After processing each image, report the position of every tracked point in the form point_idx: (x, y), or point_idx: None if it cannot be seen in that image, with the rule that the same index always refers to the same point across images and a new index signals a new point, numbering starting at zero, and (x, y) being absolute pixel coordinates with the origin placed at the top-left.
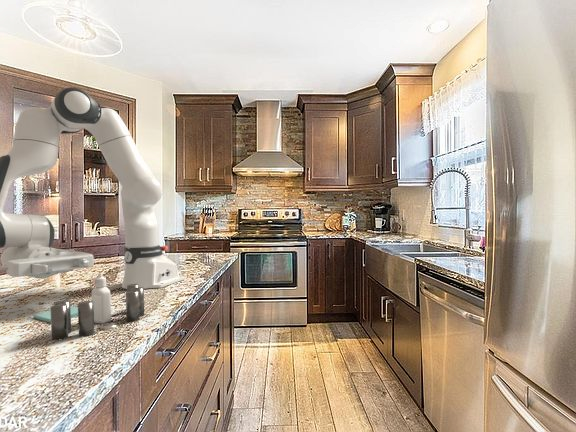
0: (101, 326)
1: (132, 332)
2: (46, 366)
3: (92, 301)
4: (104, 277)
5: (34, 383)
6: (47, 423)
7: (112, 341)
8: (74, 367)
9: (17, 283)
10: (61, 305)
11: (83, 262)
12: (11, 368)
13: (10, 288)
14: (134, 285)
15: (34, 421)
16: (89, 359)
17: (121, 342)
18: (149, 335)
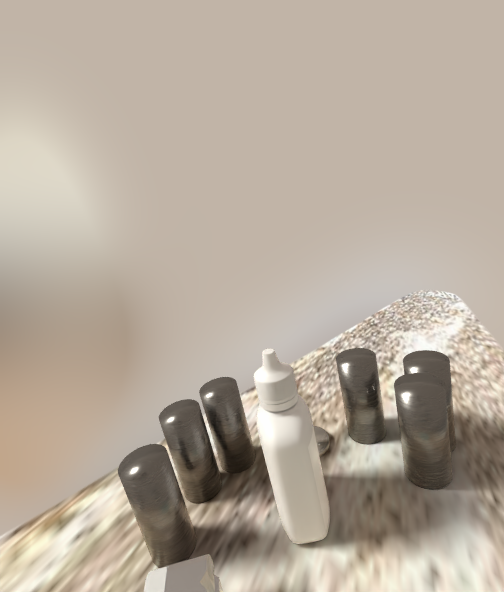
0: (325, 443)
1: None
2: (440, 350)
3: (338, 358)
4: (259, 369)
5: (446, 326)
6: (420, 290)
7: (330, 379)
8: (399, 338)
9: None
10: (418, 359)
11: (209, 564)
12: (501, 361)
13: None
14: (145, 453)
15: (431, 293)
16: (377, 347)
17: (319, 371)
18: None
